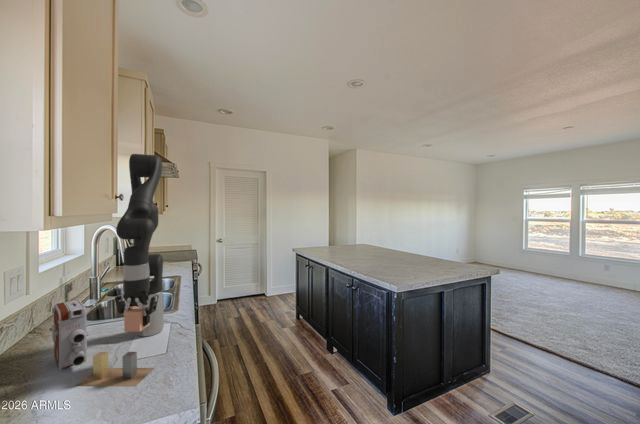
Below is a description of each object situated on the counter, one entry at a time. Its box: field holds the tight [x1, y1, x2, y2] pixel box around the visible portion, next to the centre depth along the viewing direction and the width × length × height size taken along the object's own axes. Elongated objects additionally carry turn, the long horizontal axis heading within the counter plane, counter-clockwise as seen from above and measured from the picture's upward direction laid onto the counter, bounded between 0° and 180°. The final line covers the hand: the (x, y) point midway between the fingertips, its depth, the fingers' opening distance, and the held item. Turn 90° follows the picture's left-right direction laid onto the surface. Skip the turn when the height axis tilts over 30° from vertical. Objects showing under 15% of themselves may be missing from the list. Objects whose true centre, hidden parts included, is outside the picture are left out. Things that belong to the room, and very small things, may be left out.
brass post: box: [92, 351, 109, 379], centre depth 84 cm, size 3×3×7 cm
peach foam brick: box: [123, 306, 150, 333], centre depth 93 cm, size 5×5×7 cm
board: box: [75, 367, 155, 387], centre depth 84 cm, size 9×18×1 cm, turn 90°
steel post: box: [121, 351, 138, 379], centre depth 84 cm, size 3×3×7 cm
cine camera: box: [51, 299, 91, 371], centre depth 92 cm, size 9×19×20 cm, turn 49°
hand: (137, 324), depth 93 cm, fingers closed on peach foam brick, 5 cm apart
